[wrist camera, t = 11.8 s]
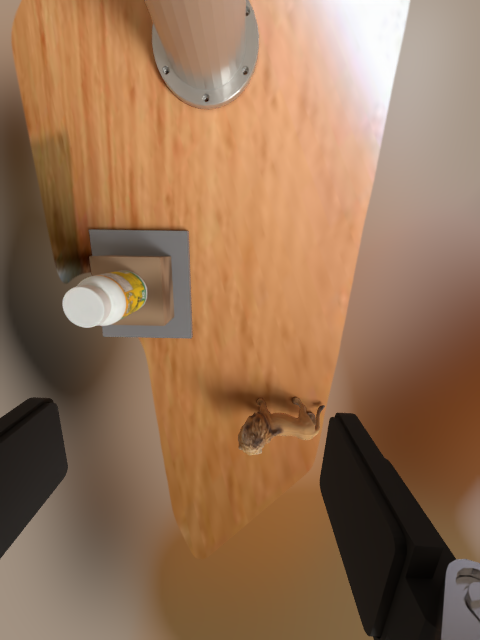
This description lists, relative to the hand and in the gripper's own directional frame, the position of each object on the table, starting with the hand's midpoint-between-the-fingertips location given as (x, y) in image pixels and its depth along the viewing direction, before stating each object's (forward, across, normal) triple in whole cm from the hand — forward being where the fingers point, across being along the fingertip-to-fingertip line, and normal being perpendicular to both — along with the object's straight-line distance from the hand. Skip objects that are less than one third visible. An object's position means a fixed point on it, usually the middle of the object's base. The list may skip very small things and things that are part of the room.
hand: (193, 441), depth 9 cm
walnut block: (+31, +14, 0) cm, 33 cm away
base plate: (+31, +14, 0) cm, 34 cm away
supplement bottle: (+26, +14, 0) cm, 29 cm away
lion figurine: (+32, -8, +20) cm, 38 cm away
